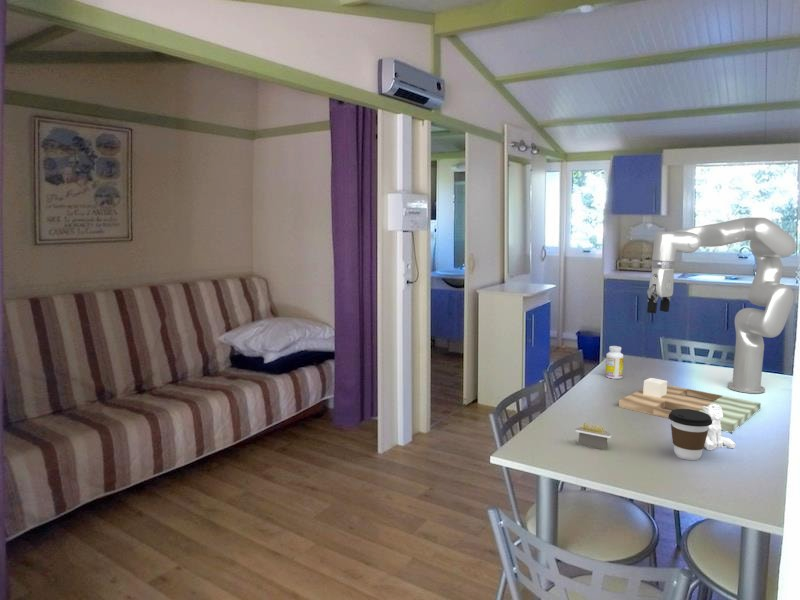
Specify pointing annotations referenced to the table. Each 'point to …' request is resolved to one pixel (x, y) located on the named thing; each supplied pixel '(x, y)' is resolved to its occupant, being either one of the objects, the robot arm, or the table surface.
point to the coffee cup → (689, 432)
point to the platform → (593, 436)
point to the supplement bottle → (614, 363)
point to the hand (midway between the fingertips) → (657, 312)
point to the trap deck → (692, 405)
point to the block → (655, 387)
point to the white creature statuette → (716, 429)
